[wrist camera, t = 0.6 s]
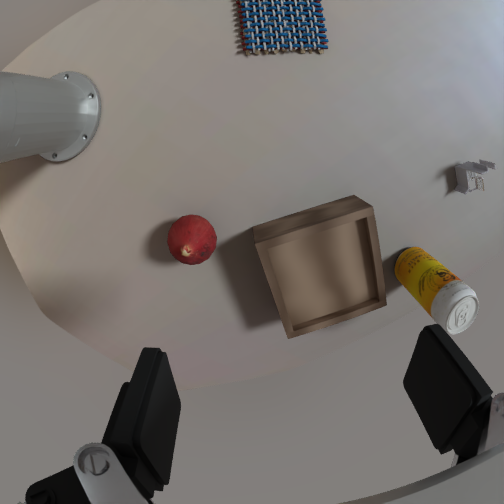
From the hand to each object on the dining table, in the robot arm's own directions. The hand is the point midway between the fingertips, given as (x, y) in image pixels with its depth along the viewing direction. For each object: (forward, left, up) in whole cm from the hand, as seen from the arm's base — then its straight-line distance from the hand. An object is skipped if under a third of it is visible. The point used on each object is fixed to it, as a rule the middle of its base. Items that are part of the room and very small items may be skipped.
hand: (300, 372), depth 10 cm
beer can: (+19, -17, -30) cm, 39 cm away
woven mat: (+10, +21, -30) cm, 38 cm away
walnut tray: (+5, -11, -30) cm, 32 cm away
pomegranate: (-9, -2, -30) cm, 31 cm away
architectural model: (+36, -8, -30) cm, 48 cm away
